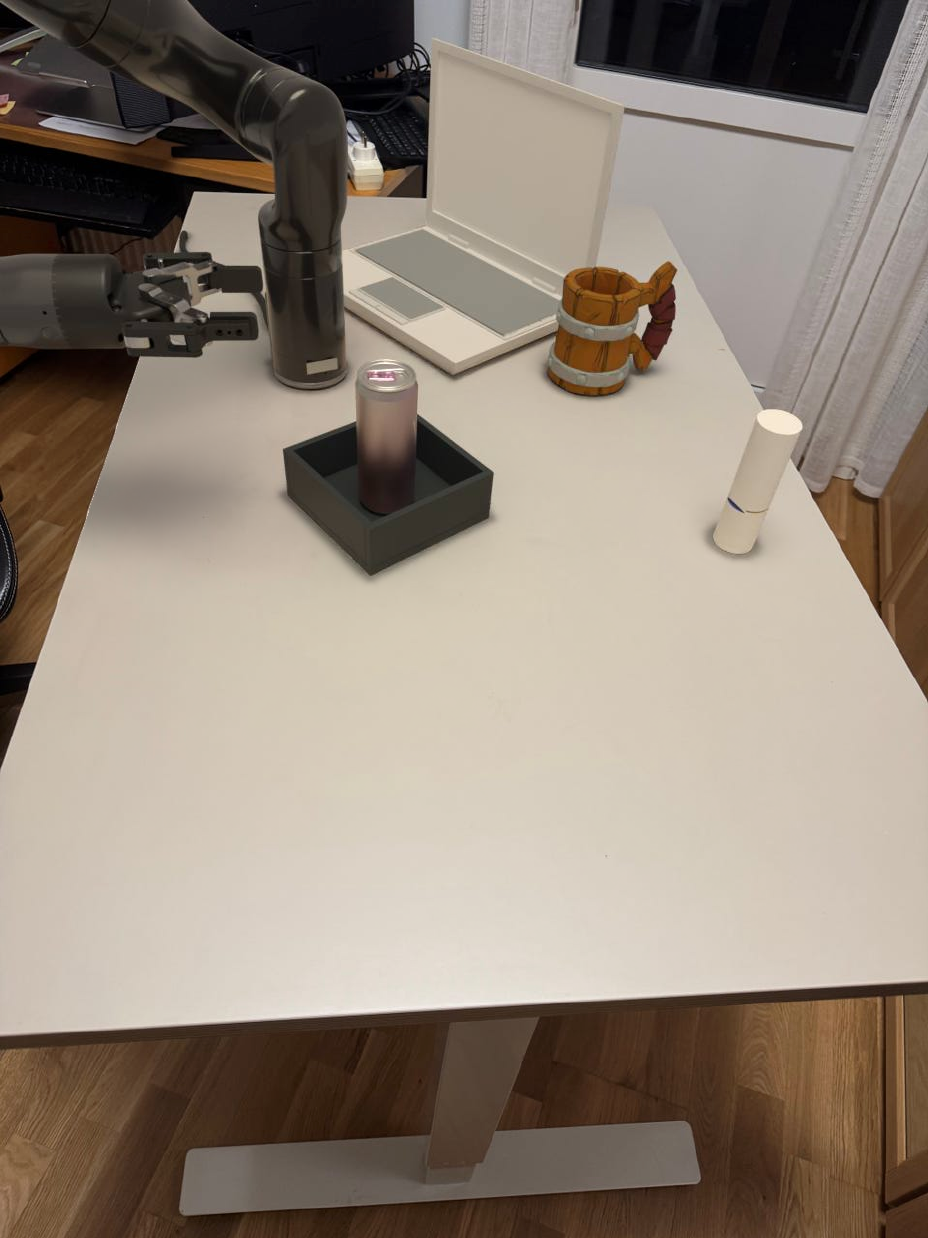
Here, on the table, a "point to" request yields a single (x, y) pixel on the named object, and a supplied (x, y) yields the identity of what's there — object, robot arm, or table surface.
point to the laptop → (491, 213)
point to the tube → (756, 480)
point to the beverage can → (386, 434)
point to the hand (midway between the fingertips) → (260, 301)
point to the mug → (609, 327)
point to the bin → (441, 508)
